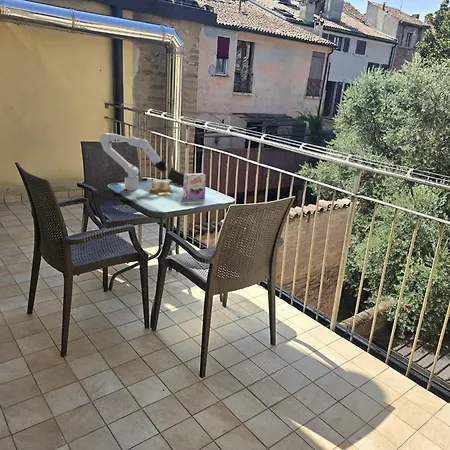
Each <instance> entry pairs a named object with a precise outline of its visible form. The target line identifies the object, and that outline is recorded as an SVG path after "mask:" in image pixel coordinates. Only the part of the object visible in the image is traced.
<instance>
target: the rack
mask: <svg viewBox="0 0 450 450" xmlns="http://www.w3.org/2000/svg"><path fill="white" fill-rule="evenodd" d="M167 192H169V193H171V194H172V193H173V194H174V191H173V190H172V189H170V190H152V189H149V190H148V193H150V194H158V193H167Z"/></svg>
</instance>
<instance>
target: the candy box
mask: <svg viewBox="0 0 450 450" xmlns="http://www.w3.org/2000/svg"><path fill="white" fill-rule="evenodd" d="M183 174H184V185H183V186H182V187H183V188H182V189H183V190H182V191H183V192H182V197H183V198H185V199H186V200H187V199H199V200H202V199H206V198H205V197H206V179H207V175H206V174H205V173H197V172H196V173H183Z"/></svg>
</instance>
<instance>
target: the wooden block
mask: <svg viewBox="0 0 450 450" xmlns="http://www.w3.org/2000/svg"><path fill="white" fill-rule="evenodd" d="M151 188H152V190H171V181H170V180H169V181H151Z"/></svg>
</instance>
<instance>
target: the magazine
mask: <svg viewBox="0 0 450 450" xmlns="http://www.w3.org/2000/svg"><path fill="white" fill-rule="evenodd" d="M184 174H185V173H182V172H180V171H177V169H176V168H175V167H171V168H170V170H169V172H168V175H167V178H168V179H169V181H170V182H171V181H172V182H171V183H174V184H175V183H176V184H175V185H177V184H178V186H180V185H181V187H183V185H184Z"/></svg>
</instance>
